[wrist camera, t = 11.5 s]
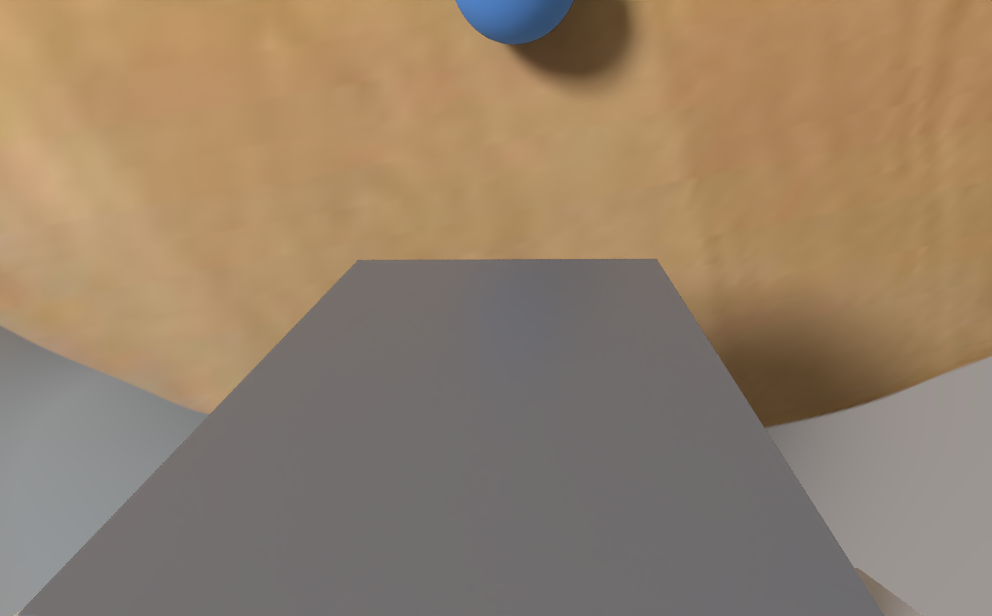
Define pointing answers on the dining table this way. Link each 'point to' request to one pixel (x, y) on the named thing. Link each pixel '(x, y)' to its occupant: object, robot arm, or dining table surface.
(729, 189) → the dining table surface
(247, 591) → the balanced grey cube
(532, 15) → the ball
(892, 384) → the dining table surface
